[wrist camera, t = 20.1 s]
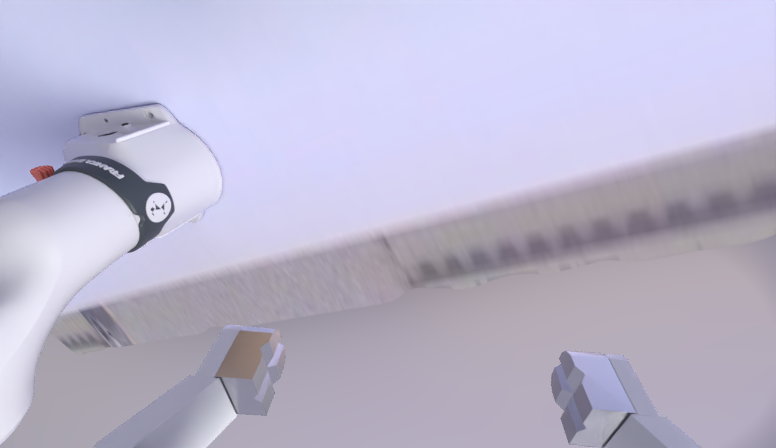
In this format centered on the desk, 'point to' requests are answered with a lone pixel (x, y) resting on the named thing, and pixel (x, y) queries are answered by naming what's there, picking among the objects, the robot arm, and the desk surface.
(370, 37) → the desk surface
